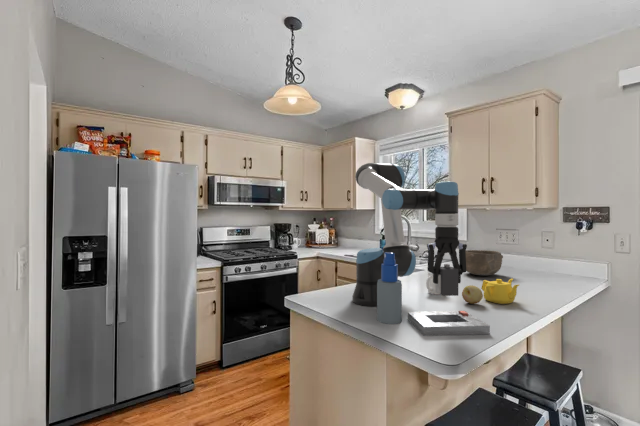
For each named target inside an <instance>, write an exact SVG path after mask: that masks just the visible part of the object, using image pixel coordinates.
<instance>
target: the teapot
mask: <svg viewBox="0 0 640 426" xmlns="http://www.w3.org/2000/svg"><path fill="white" fill-rule="evenodd" d="M513 280H514V278H510V279H508V281H507V282H506V281H503V279H501V278H496V279H495V280H492V281H489V280H486V279H484V280H483V281H482V284H481V288H480V290H481V291H483V298H484V299H485V301H487V302H490V303H494V304H498V305H499V304H501V305H505V304H506V305H507V304H508V305H509V304H511V303H514V301H515V299H516V296H517V289H518V287H519V286H520V284H514V285H512V282H513Z"/></svg>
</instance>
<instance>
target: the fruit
mask: <svg viewBox="0 0 640 426" xmlns="http://www.w3.org/2000/svg"><path fill="white" fill-rule="evenodd" d="M482 291H483V290H482V289H481V288H479V287H478V286H476V285H473V284H472V285H466V286H465V287H463V290H462V292H461V296H462V298H463V300H464V301H465V302H466V303H468V304H471V305H475V304H479V303H480V302H481V301H482V299H483V298H484V293H483V292H482Z"/></svg>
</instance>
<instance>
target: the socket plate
mask: <svg viewBox="0 0 640 426" xmlns="http://www.w3.org/2000/svg"><path fill="white" fill-rule="evenodd" d="M407 321H409V322H410V323H411V324H412V325H413V327H414V328H416V329H417V331H418V332H420V333H421V334H422V335H423V336H425V337H426V336H427V337H429V336H430V337H431V336H459V335H460V336H463V335H464V336H466V335H467V336H468V335H469V336H471V335H473V336H474V335H490V334H491V332H490V331H491V330H490V329H491V325H490V324H488V323H486V322H484V321H483V320H481V319H480V318H478V317H476V316H475V315H473V314H471V313H469V312H468V311H466V310H452V311H451V310H449V311H446V310H445V311H440V310H439V311H407Z"/></svg>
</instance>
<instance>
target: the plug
mask: <svg viewBox="0 0 640 426" xmlns="http://www.w3.org/2000/svg"><path fill="white" fill-rule="evenodd" d="M439 274H440V275H441V294H440V296H442V297H444V296H445V297H450V296H451V297H453V296H454V297H455V296H459V283H458V269H456V268H454V267H453V266H450V264H449V263H445V264H443V266H441V267H440V270H439Z"/></svg>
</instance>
